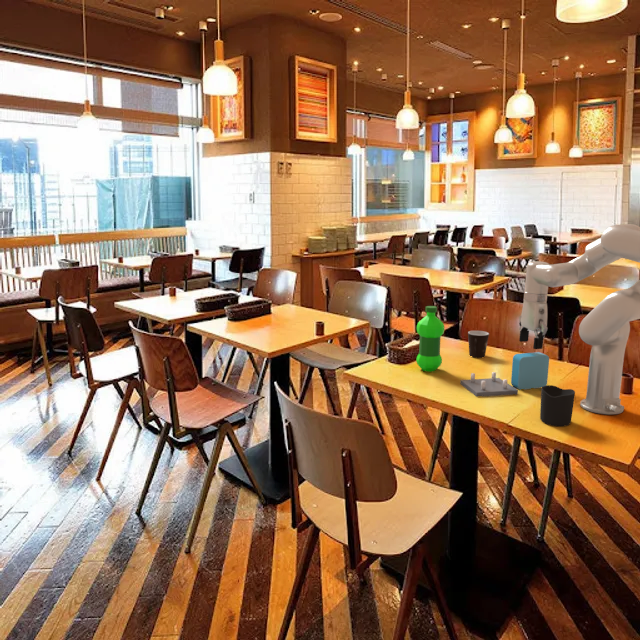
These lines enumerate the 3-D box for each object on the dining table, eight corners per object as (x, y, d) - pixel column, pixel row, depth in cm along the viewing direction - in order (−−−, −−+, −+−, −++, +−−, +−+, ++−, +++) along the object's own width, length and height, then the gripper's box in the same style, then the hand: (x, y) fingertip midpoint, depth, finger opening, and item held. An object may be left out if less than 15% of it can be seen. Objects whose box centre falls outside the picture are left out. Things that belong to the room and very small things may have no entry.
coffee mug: (474, 352, 258) (476, 329, 256) (491, 356, 252) (493, 333, 250) (458, 356, 251) (459, 333, 249) (475, 361, 244) (476, 337, 242)
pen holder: (561, 415, 185) (563, 384, 183) (578, 426, 176) (581, 394, 174) (533, 416, 184) (535, 386, 182) (548, 428, 175) (551, 396, 173)
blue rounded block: (539, 383, 216) (541, 351, 213) (547, 387, 212) (549, 354, 209) (510, 386, 213) (512, 354, 210) (517, 390, 208) (520, 357, 206)
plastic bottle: (443, 374, 227) (445, 309, 222) (415, 372, 228) (417, 309, 223) (441, 366, 237) (444, 305, 231) (415, 365, 238) (417, 304, 233)
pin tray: (517, 394, 204) (518, 381, 203) (476, 396, 202) (477, 384, 201) (498, 381, 218) (499, 370, 217) (460, 384, 215) (460, 372, 214)
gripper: (559, 302, 198) (553, 351, 202) (532, 292, 215) (527, 338, 218) (538, 302, 197) (533, 352, 201) (513, 293, 213) (508, 339, 217)
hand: (530, 345), depth 209 cm, fingers open, 9 cm apart
